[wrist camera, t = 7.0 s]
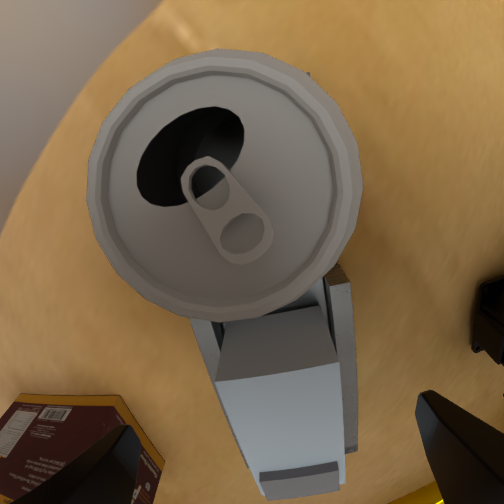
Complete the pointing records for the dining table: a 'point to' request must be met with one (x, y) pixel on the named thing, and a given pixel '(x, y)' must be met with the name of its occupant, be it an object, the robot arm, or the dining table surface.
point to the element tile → (422, 496)
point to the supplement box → (64, 441)
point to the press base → (341, 331)
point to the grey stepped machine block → (285, 401)
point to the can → (224, 185)
